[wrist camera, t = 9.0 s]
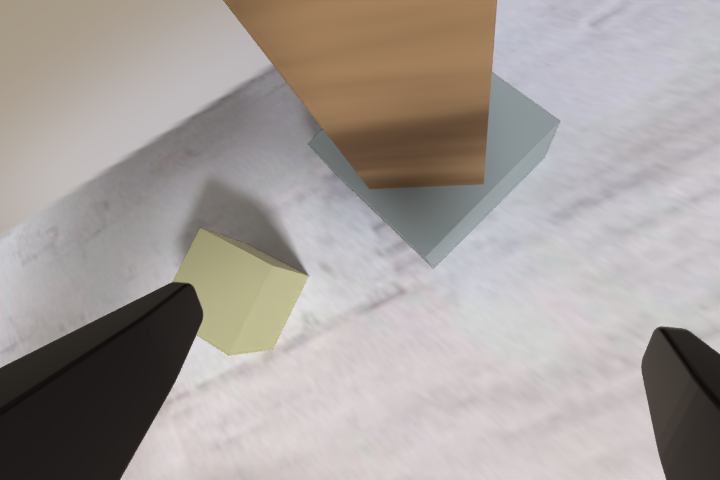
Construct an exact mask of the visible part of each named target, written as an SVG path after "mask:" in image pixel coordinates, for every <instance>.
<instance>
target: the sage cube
mask: <svg viewBox="0 0 720 480" xmlns="http://www.w3.org/2000/svg"><path fill="white" fill-rule="evenodd" d="M308 277H309V276H308V275H306V274H304V273H302V272H300V271H298V270H296V269H294V268H292V267H290V266H288V265H287V264H285V263H283V262H281V261H279V260H277V259H275V258H273V257H271V256H269V255H267V254H265V253H263V252H261V251H259V250H257V249H256V248H254V247H252V246H250V245H248V244H246V243H243V242H240V241H237V240H234V239H231V238H228V237H225V236H222V235H220V234H217V233H214V232H211V231H208V230H205V229H202V228H200V229H199V231H198V233H197V235H196V237H195V239H194V241H193V243H192V245H191V247H190V248H189V250H188V252H187V254H186V256H185V258H184V260H183V262H182V264H181V266H180V268H179V270H178V272H177V274H176V276H175V278H174V280H173V282H184V283H190V284H192V285H193V286H194V288H195V290H196V293H197V296H198V298H199V301H200V304H201V306H202V309H203V321H202V323H201V326H200V328H199V330H198V332H197V336H198V337H200V338H202V339H203V340H205V341H206V342H208V343H209V344H211V345H213V346H214V347H216V348H217V349H219V350H221V351H222V352H224V353H225V354H227V355H228V356H229V355H236V354H243V353H251V352H258V351H266V350H273V348H274V346H275V344H276V342H277V340H278V338H279V336H280V334H281V332H282V330H283V328H284V326H285V324H286V322H287V319H288V317H289V315H290V313H291V311H292V309H293V307H294V305H295V303H296V301H297V299H298V297H299V295H300V293H301V291H302V289H303V287H304V285H305V283H306V281H307V279H308Z"/></svg>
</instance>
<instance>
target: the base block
mask: <svg viewBox="0 0 720 480" xmlns="http://www.w3.org/2000/svg"><path fill="white" fill-rule="evenodd" d="M559 123H560V120H558V119H557V118H556V117H554V116H553V115H551V114H550V113H549V112H547V111H546V110H545V109H543V108H542V107H540V106H539V105H538V104H536V103H535V102H533V101H532V100H531V99H529V98H528V97H526V96H525V95H524V94H522V93H521V92H519V91H518V90H517V89H515V88H514V87H512V86H511V85H510V84H508V83H507V82H505V81H504V80H503V79H501V78H500V77H499V76H497V75H496V74H494V73H493V72H492V76H491V90H490V104H489V117H488V131H487V145H486V158H485V172H484V184H480V185H457V186H433V187H409V188H385V189H369V188H368V187H367V185H366V184H365V183H364V181H363V180H362V179H361V178H360V176H359V175H358V174H357V172H356V171H355V170H354V169H353V167H352V166H351V165H350V163H349V162H348V161H347V159H346V158H345V157H344V156H343V154H342V153H341V152H340V150H339V149H338V148H337V147H336V145H335V144H334V143H333V141H332V140H331V139H330V138H329V136H328V135H327V134H326V132H325V131H324V130H323V128H322V129H321V130H320V131H319V133H318V134H317V135H316V136H315V137H314V138H313V139H312V140H311V141H310V142H309V143H308V145H309V146H310V147H311V148H312V149H313V150H314V151H315V153H316V154H317V155H318V156H319V157H320V158H321V159H322V160H323V161H324V162H325V163H326V164H327V165H328V167H329V168H330V169H331V170H332V171H333V172H334V173H335V174H336V175H337V176H338V177H339V178H340V179H341V180H342V181H343V182H344V183H345V184H346V185H347V186H349V187H350V188H351V189H352V190H353V191H354V192H355V193H356V194H357V195H358V196H359V197H360V198H361V199H362V200H363V201H364V202H365V203H366V204H367V205H368V206H369V207H370V208H371V209H372V210H373V211H374V212H375V213H376V214H378V215H379V216H380V217H381V218H382V219H383V220H384V221H385V222H386V223H387V224H388V225H389V226H390V227H391V228H392V229H393V230H394V231H395V232H396V233H397V234H398V235H399V236H400V237H401V238H402V239H403V240H404V241H405V242H406V243H408V244H409V245H410V246H411V247H412V248H413V249H414V250H415V251H416V252H417V253H418V254H419V255H420V256H421V257H422V258H423V259H424V260H425V261H426V262H427V263H428V264H429V265H430V266H431V267H432V268H433V269H434V268H435V267H436V266H437V265H438V264H439V263H440V262H441V261H442V260H443V259H444V258H445V257H446V256H447V255H448V254H449V253H450V252H451V251H452V250H453V249H454V248H455V247H456V246H457V245H458V244H459V243H460V242H461V241H462V240H463V239H464V238H465V237H466V236H467V235H468V234H469V233H470V232H471V231H472V230H473V229H474V228H475V227H476V226H477V225H478V224H479V223H480V222H481V221H482V220H483V219H484V218H485V217H486V216H487V215H488V214H489V213H490V212H491V211H492V210H493V209H494V208H495V207H496V206H497V205H498V204H499V203H500V202H501V201H502V200H503V199H504V198H505V197H506V196H507V195H508V194H509V193H510V192H511V191H512V190H513V189H514V188H515V187H516V186H517V185H518V184H519V183H520V182H521V181H522V180H523V179H524V178H525V177H526V176H527V175H528V174H529V173H530V172H531V171H532V170H533V168H534V167H535V166H536V165H537V164H538V163H539V162H540V161H541V160H542V159H543V158H544V157H545V156H546V153H547V151H548V149H549V147H550V144H551V142H552V140H553V137H554V135H555V133H556V130H557V128H558V126H559Z"/></svg>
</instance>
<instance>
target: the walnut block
mask: <svg viewBox="0 0 720 480" xmlns="http://www.w3.org/2000/svg"><path fill="white" fill-rule="evenodd" d="M223 1H224V2H225V3H226V4H227V6H228V7H229V8H230V10H231V11H232V12H233V13H234V15H235V16H236V17H237V19H238V20H239V21H240V23H241V24H242V25H243V26H244V28H245V29H246V30H247V32H248V33H249V34H250V35H251V37H252V38H253V39H254V41H255V42H256V43H257V45H258V46H259V47H260V48H261V50H262V51H263V52H264V54H265V55H266V56H267V57H268V59H269V60H270V61H271V63H272V64H273V65H274V66H275V68H276V69H277V70H278V72H279V73H280V74H281V76H282V77H283V78H284V79H285V81H286V82H287V83H288V85H289V86H290V87H291V88H292V90H293V91H294V92H295V94H296V95H297V96H298V97H299V99H300V100H301V101H302V103H303V104H304V105H305V107H306V108H307V109H308V110H309V112H310V113H311V114H312V116H313V117H314V118H315V119H316V121H317V122H318V123H319V125H320V126H321V127H322V128H323V130H324V131H325V132H326V134H327V135H328V136H329V138H330V139H331V140H332V141H333V143H334V144H335V145H336V147H337V148H338V149H339V150H340V152H341V153H342V154H343V156H344V157H345V158H346V159H347V161H348V162H349V163H350V165H351V166H352V167H353V169H354V170H355V171H356V172H357V174H358V175H359V176H360V178H361V179H362V180H363V181H364V183H365V184H366V185H367V187H368V188H369V189H385V188H409V187H433V186H457V185H480V184H484V172H485V158H486V145H487V131H488V117H489V104H490V90H491V76H492V63H493V49H494V35H495V21H496V8H497V0H223Z"/></svg>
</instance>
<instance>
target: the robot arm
mask: <svg viewBox="0 0 720 480" xmlns="http://www.w3.org/2000/svg"><path fill="white" fill-rule="evenodd" d="M202 321H203V309H202V306H201V304H200V301H199V298H198V296H197V293H196V290H195V288H194V286H193V285H192V284H190V283H184V282H172V283H170V284H168V285H166V286H164V287H162V288H160V289H158V290H156V291H154V292H152V293H150V294H148V295H146V296H144V297H142V298H140V299H138V300H135V301H133V302H131V303H129V304H127V305H125V306H123V307H121V308H119V309H117V310H115V311H113V312H111V313H109V314H107V315H105V316H103V317H101V318H99V319H97V320H95V321H93V322H91V323H89V324H87V325H85V326H83V327H81V328H79V329H77V330H75V331H73V332H71V333H69V334H67V335H65V336H63V337H61V338H59V339H57V340H55V341H53V342H51V343H49V344H47V345H45V346H43V347H41V348H39V349H37V350H35V351H33V352H31V353H29V354H27V355H25V356H23V357H21V358H19V359H17V360H15V361H13V362H11V363H9V364H7V365H5V366H3V367H1V368H0V480H120V479H121V477H122V475H123V473H124V472H125V470H126V468H127V466H128V465H129V463H130V461H131V459H132V457H133V456H134V454H135V452H136V450H137V449H138V447H139V445H140V443H141V442H142V440H143V438H144V436H145V435H146V433H147V431H148V429H149V428H150V426H151V424H152V422H153V420H154V419H155V417H156V415H157V413H158V412H159V410H160V408H161V406H162V405H163V403H164V401H165V399H166V398H167V396H168V394H169V392H170V390H171V389H172V387H173V385H174V383H175V381H176V379H177V377H178V375H179V373H180V370H181V368H182V366H183V364H184V361H185V359H186V357H187V355H188V353H189V350H190V348H191V346H192V344H193V341H194V339H195V337H196V335H197V332H198V330H199V328H200V326H201V323H202ZM641 368H642V376H643V381H644V386H645V390H646V395H647V400H648V405H649V410H650V415H651V420H652V424H653V429H654V434H655V439H656V444H657V448H658V452H659V457H660V460H661V464H662V467H663V470H664V474H665V477H666V480H720V354H719V353H718V352H716V351H715V350H714V349H712V348H711V347H710V346H708V345H707V344H706V343H704V342H703V341H702V340H701V339H699V338H698V337H697V336H695V335H694V334H693V333H691V332H690V331H688V330H686V329H682V328H673V327H658V328H656V329H655V330H654V332H653V334H652V336H651V339H650V341H649V344H648V346H647V349H646V351H645V354H644V356H643V359H642V366H641Z"/></svg>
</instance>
